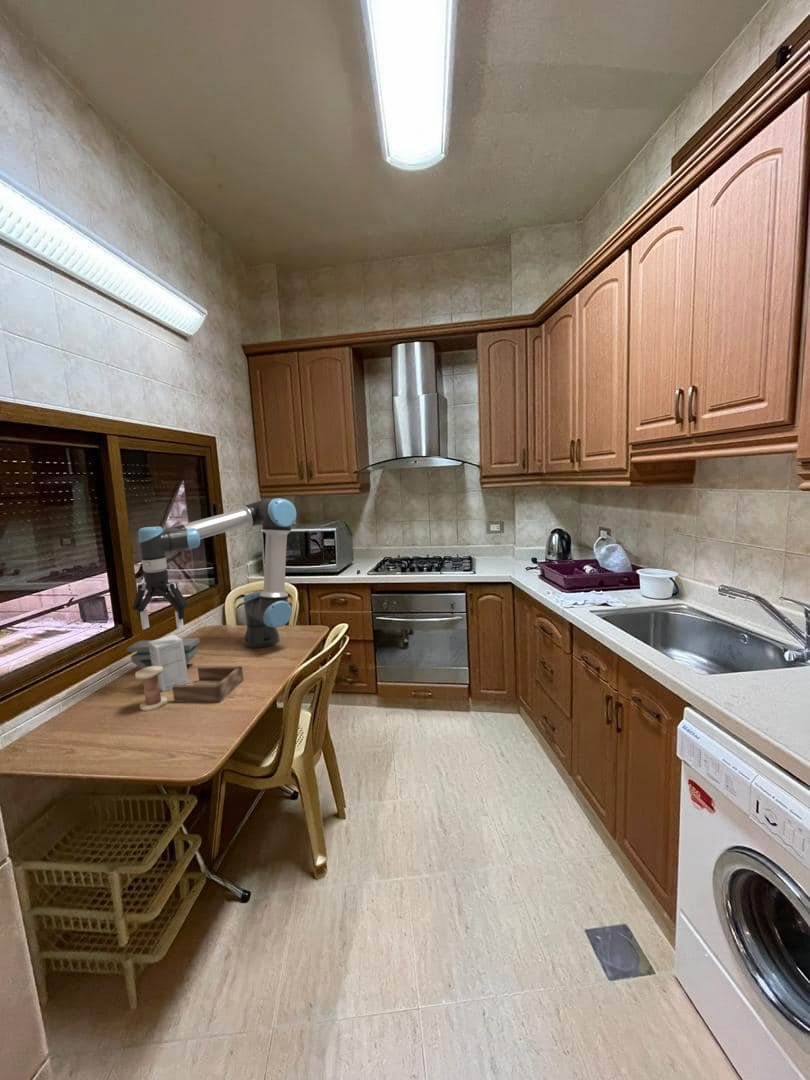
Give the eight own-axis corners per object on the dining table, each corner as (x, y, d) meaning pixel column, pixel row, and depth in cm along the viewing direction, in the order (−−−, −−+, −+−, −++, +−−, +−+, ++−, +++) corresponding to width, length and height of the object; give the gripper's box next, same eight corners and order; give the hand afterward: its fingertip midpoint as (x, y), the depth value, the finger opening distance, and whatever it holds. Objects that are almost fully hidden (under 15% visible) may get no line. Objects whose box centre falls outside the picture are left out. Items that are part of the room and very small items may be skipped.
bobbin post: (151, 698, 154) (146, 665, 153) (172, 698, 153) (168, 665, 152) (134, 710, 147) (129, 676, 145) (157, 711, 146) (151, 676, 144)
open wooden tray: (201, 680, 167) (200, 666, 166) (243, 680, 164) (241, 666, 164) (174, 701, 151) (172, 687, 150) (220, 702, 149) (218, 687, 148)
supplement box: (181, 676, 172) (175, 633, 169) (190, 682, 165) (184, 639, 163) (153, 685, 165) (147, 641, 163) (161, 692, 159) (155, 647, 156)
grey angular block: (202, 663, 183) (199, 637, 181) (193, 671, 175) (189, 645, 174) (143, 666, 184) (139, 640, 182) (131, 674, 176) (126, 648, 175)
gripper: (115, 573, 157) (124, 631, 160) (181, 571, 154) (188, 631, 157) (131, 569, 165) (139, 625, 167) (194, 567, 161) (201, 624, 164)
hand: (163, 628), depth 162 cm, fingers open, 13 cm apart
